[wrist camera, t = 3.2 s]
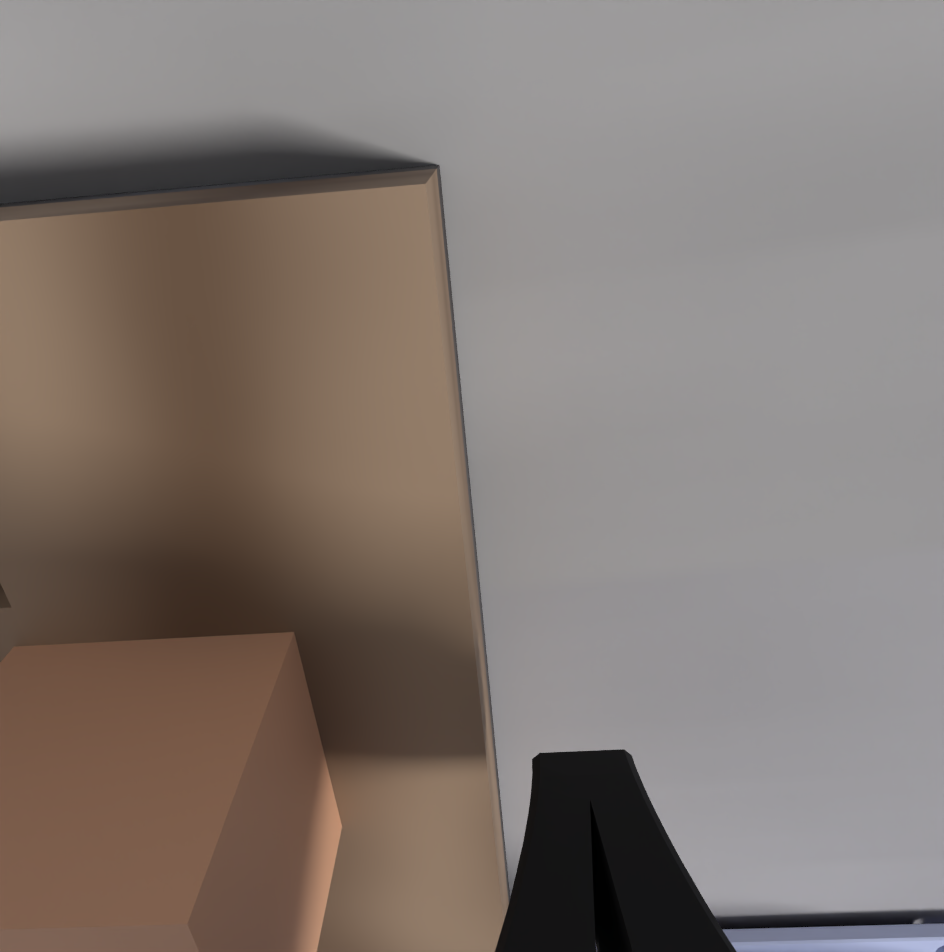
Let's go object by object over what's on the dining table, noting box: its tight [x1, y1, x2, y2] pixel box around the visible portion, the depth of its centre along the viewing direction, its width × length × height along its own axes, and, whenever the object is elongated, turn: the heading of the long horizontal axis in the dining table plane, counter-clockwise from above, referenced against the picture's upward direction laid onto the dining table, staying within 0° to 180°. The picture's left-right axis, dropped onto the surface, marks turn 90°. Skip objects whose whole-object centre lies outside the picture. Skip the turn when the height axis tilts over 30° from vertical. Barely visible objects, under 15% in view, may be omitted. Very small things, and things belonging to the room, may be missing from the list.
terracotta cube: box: [0, 632, 342, 952], centre depth 10 cm, size 4×4×4 cm
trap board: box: [0, 165, 510, 952], centre depth 14 cm, size 16×17×2 cm
